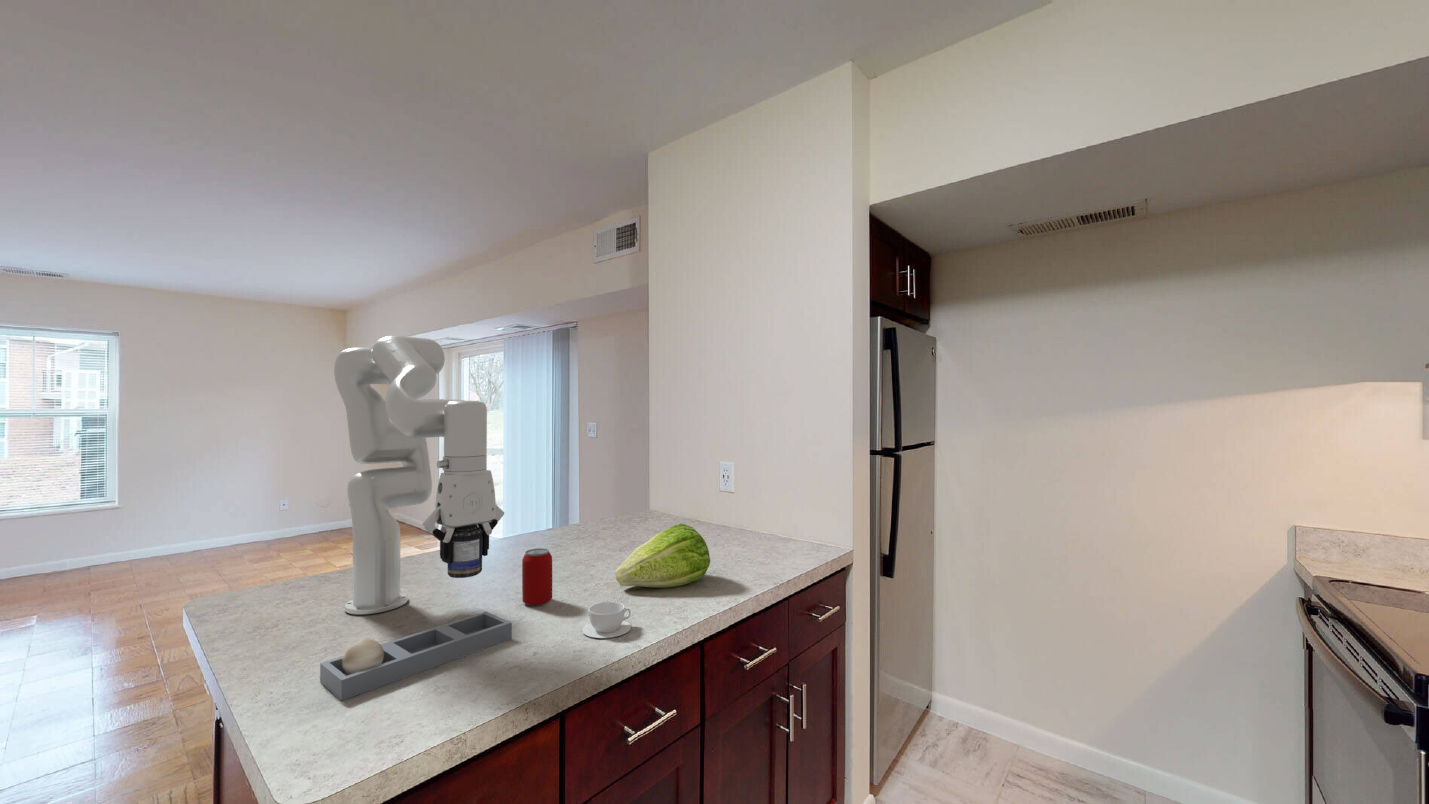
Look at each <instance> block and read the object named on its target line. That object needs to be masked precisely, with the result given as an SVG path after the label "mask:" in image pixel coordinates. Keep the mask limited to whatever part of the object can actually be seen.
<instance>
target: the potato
mask: <svg viewBox="0 0 1429 804" xmlns="http://www.w3.org/2000/svg"><path fill="white" fill-rule="evenodd" d="M342 656H343V659H342V667H343V669H344V671H345V673H346V674H347V675H351V674H354V673H357V672H360V671H363V670H366V669H369V668H372V667H374V666H377V665H380V664H382V662H383V658H384V651H383V648H382V646H381V645H380V643H379V642H378V641H377V640H374V639H369V638H364V639H360V640H358V641H356V642H354V643H352V644H351V645H350V646H348V648H346V651H345V652H344V653H343V655H342Z"/></svg>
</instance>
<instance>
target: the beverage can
mask: <svg viewBox="0 0 1429 804" xmlns="http://www.w3.org/2000/svg"><path fill="white" fill-rule="evenodd" d="M521 567H522V568H521V570H522V571H521V577H522V578H521V581H522V582H521V587H522V588H521V590H522V592H521V593H522V603H524V604H525V605H527V606H530V607H539V606H543V605H546V604H548V602H550V601H551V600H552V599H553V555H552V554H551V551H550V549H548V548H543V547H542V548H532V549H527V550H526V551H525V553H524V556H523V557H522V560H521Z"/></svg>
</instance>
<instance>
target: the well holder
mask: <svg viewBox="0 0 1429 804" xmlns="http://www.w3.org/2000/svg"><path fill="white" fill-rule="evenodd" d="M511 639H513V623H512V621H509V620H508V619H505V618H502V617H500V616H497V615H496V614H493V613H491V612H488V611H484V612H481V613H476V614H473V615H471V616H467V617H465V618H461V619H458V620H455V621H451V622H448V623H446V624H442V625H439V626H435V627H432V628H429V629H426V630H422V631H420V632H419V631H418V632H417V633H412V634H410V635H406V636H404V637H400V638H396V639H394V640H390V641H388V642H384V643H381V644H380V643H379V644H380V645H381V646H382V648H383V651H384V658H383V662H382V664H380V665H377V666H374V667H372V668H369V669H366V670H363V671H360V672H357V673H354V674H351V675H347V674H346V673H345V671H344V669H343V667H342V659H343V656H344V655H342V656H339V657H336V658H332V659H330V660H326V661H323V662H320V663H319V664H320V665H319V673H320V675H319V680H320V681H319V682H320V684H322V685H323V686H324V687H325V688H326V689H327V690H329V692H331V693H332V694H333V695H334V696H335V697H337V698H338V699H339V700H340V701H345V700H347V699H351V698H353V697H356V696H359V695H361V694H364V693H366V692H370V691H372V690H375V689H377V688H381V687H383V686H387V685H388V684H391V683H393V682H397V681H400V680H402V679H405V678H408V677H410V676H413V675H416V674H418V673H421V672H424V671H426V670H429V669H432V668H436V667H437V666H438V667H439V666H441V665H443V664H446V663H449V662H452V661H454V660H457V659H460V658H463V657H465V656H467V655H470V654H474V653H477V652H479V651H482V650H485V649H487V648H491V647H493V646H495V645H498V644H500V643H503V642H506V641H509V640H511Z"/></svg>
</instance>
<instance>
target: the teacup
mask: <svg viewBox="0 0 1429 804" xmlns="http://www.w3.org/2000/svg"><path fill="white" fill-rule="evenodd" d="M626 612H628V614H627V615H626V616H625V614H626ZM631 612H632V611H631V609H630V607H626V606H625V604H623V603H622V602H619V601H601V602H598V603H594V604H592V605H590V606H589V607H588V616H589V623H587V624H586V625H584V626H583V627H582V629H581V632H582V633H583V635H585V636H587V637H589V638H596V639H609V638H615V637H619V636H623V635H624V634H627V633H628V632H630V630H631V629H632V624H631V623H630V622H629V621H627V620H629V618H630V616H631Z"/></svg>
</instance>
